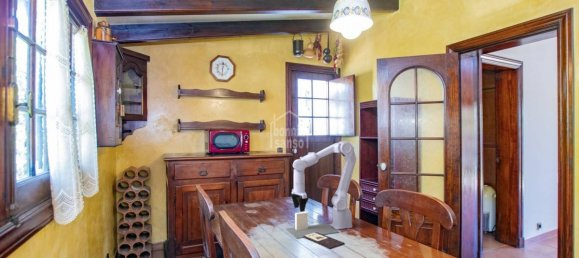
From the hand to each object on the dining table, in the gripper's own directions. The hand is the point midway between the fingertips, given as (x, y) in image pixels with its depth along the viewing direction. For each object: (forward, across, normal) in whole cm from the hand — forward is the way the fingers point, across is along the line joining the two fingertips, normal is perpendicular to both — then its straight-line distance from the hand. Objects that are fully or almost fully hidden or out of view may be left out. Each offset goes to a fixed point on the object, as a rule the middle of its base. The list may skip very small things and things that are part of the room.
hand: (299, 209), depth 154 cm
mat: (+9, +7, +4) cm, 12 cm away
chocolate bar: (+10, +20, +3) cm, 23 cm away
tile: (+9, +3, 0) cm, 9 cm away
